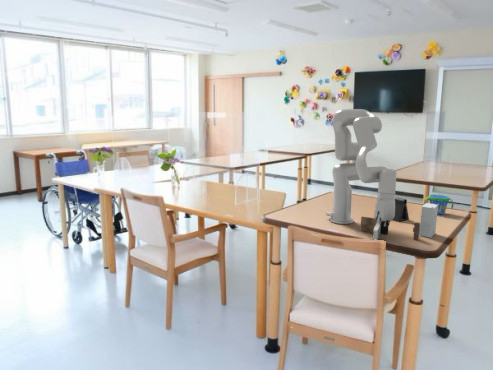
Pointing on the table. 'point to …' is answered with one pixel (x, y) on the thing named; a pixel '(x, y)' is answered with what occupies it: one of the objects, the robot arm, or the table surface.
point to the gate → (376, 231)
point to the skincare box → (428, 220)
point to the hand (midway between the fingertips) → (384, 234)
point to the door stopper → (400, 210)
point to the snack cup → (439, 202)
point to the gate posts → (370, 223)
